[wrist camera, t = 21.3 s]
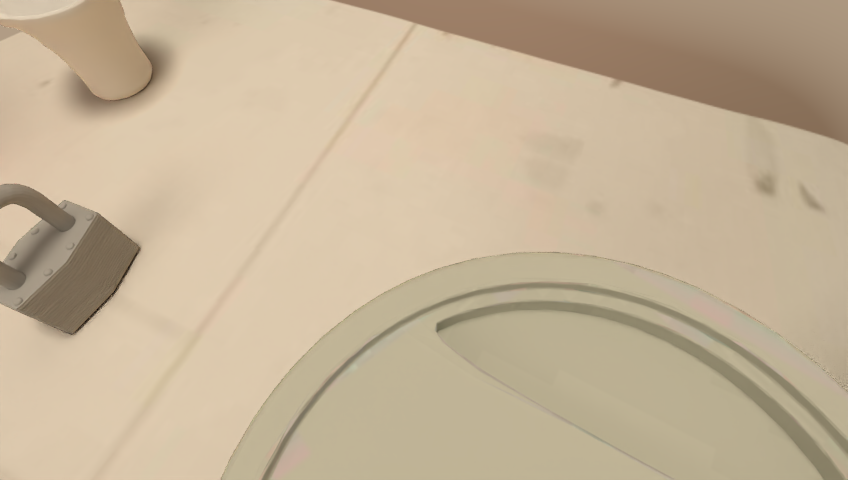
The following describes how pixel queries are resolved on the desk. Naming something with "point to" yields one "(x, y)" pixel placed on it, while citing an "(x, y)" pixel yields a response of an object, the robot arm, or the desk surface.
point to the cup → (85, 41)
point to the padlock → (62, 261)
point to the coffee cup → (549, 385)
